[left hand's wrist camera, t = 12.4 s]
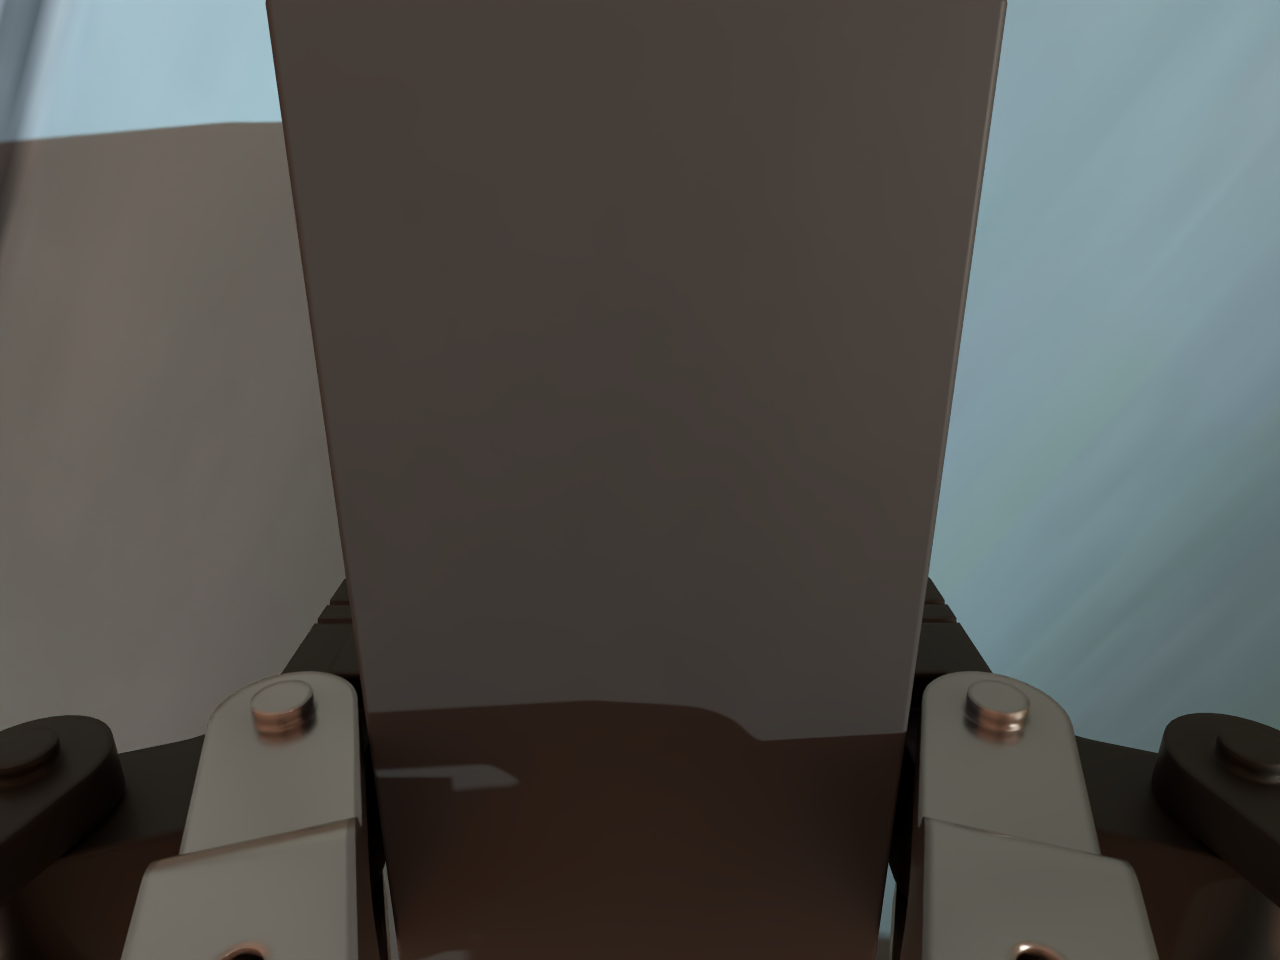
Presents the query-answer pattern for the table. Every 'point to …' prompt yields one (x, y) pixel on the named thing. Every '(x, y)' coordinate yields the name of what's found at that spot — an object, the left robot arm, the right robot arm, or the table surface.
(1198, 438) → the table surface
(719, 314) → the bar
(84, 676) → the table surface
